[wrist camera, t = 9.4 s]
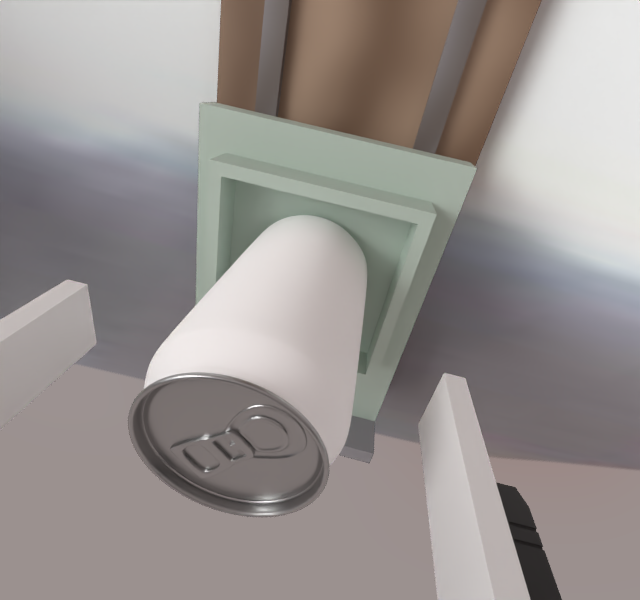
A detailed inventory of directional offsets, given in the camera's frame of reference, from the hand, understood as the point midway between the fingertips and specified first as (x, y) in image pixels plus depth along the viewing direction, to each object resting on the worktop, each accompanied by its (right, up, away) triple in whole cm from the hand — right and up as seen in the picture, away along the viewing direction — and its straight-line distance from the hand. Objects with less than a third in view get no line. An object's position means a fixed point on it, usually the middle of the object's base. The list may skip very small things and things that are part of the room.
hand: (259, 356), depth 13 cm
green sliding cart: (+2, +4, +11) cm, 12 cm away
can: (+2, +4, +7) cm, 8 cm away
